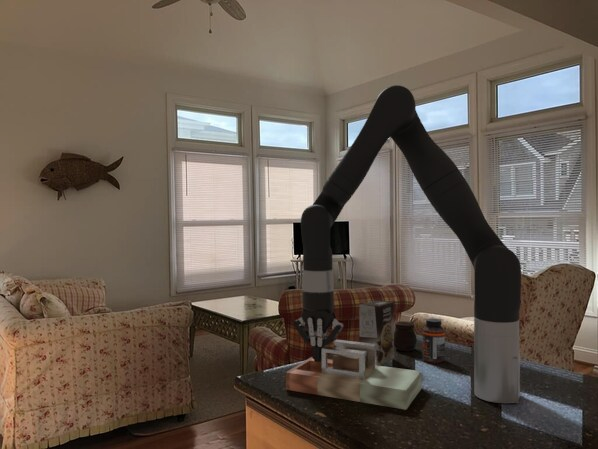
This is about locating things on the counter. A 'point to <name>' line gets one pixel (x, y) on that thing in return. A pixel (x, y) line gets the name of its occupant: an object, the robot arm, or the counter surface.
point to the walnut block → (346, 362)
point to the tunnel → (351, 350)
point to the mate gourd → (404, 336)
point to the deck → (357, 384)
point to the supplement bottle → (433, 341)
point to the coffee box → (378, 328)
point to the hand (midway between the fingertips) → (318, 361)
